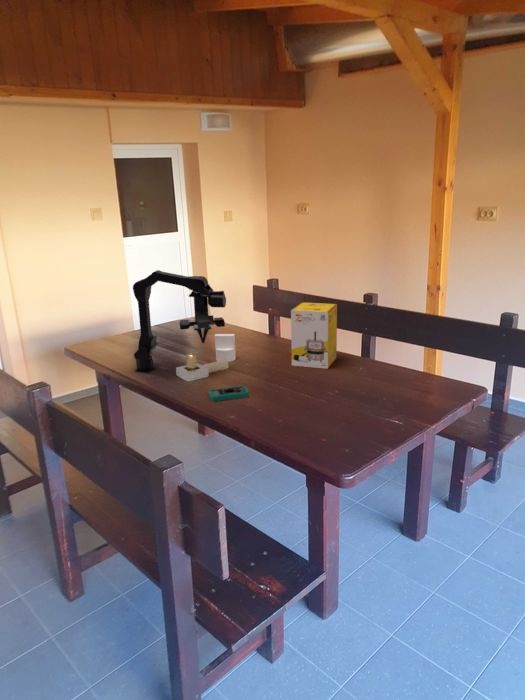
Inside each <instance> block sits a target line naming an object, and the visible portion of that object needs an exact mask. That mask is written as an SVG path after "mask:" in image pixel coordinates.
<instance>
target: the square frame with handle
mask: <svg viewBox="0 0 525 700" xmlns="http://www.w3.org/2000/svg"><path fill="white" fill-rule="evenodd" d="M196 363H197V369H196V370H192V371H188V370H187V364H186V365H182V366H178V367H175V371H176V372H175V374H176V376H177V377H178V378H180V379H182V380H183V381H185V382H192V381H196V380H199V379H200V380H201V379H204V378H208V377H210V375H209V374H210V373H215V372H219V371H223V370H228V369H229V362H228V360H221V361H217V360H216V361H213V362H209V363H205V364H201V363H198V362H196Z"/></svg>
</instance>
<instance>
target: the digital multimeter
mask: <svg viewBox="0 0 525 700" xmlns="http://www.w3.org/2000/svg"><path fill="white" fill-rule="evenodd" d="M207 393H208V397H209V399H210V400H211V401H212V402H214V403H215V402H222V401H227V400H228V399H229V400H234V399H235V398H237V399H243V398H244V397H245V398H249V396H250V395H249V389H248V388H247V387H245V386H244V385H238V386H232V387H231V386H230V387H224V388H214V389H209V390H208V392H207ZM245 398H244V399H245ZM221 400H222V401H221ZM229 400H228V401H229Z"/></svg>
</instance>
